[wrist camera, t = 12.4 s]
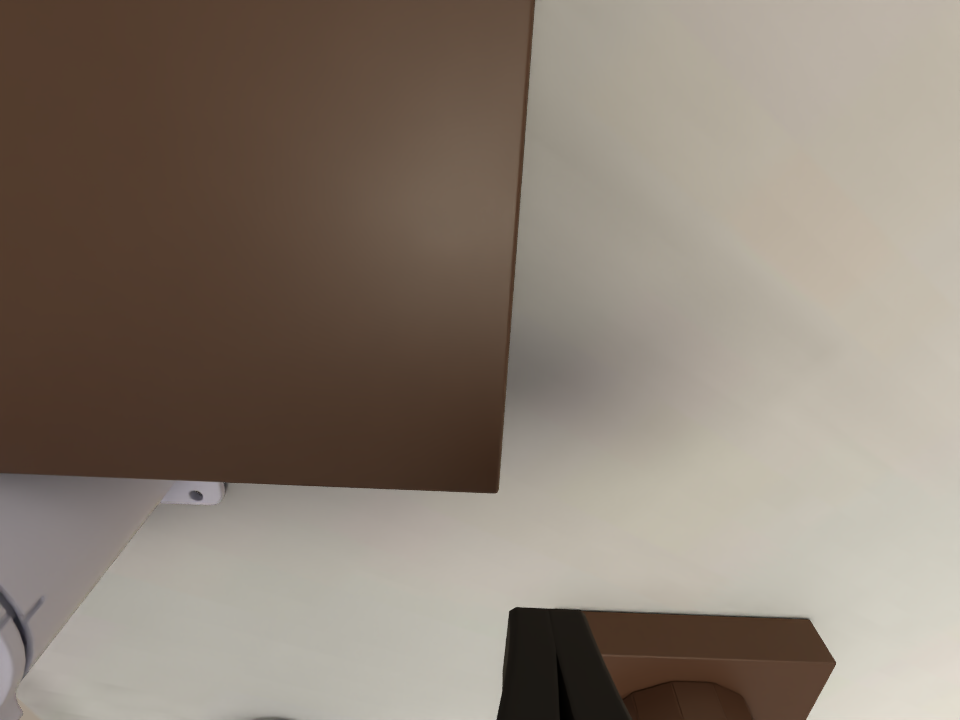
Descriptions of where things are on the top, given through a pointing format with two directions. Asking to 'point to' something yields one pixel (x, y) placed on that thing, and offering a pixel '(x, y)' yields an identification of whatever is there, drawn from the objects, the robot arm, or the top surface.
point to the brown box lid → (260, 238)
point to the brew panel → (712, 665)
